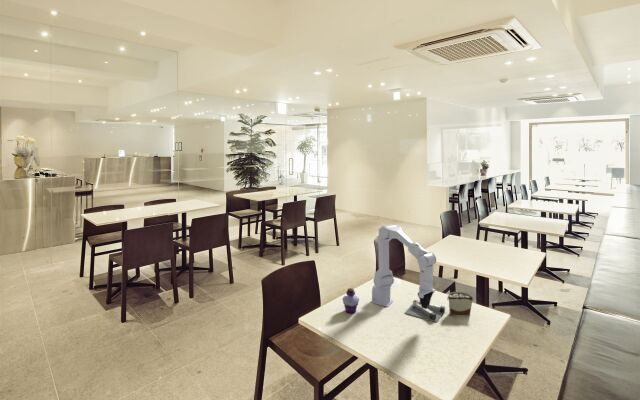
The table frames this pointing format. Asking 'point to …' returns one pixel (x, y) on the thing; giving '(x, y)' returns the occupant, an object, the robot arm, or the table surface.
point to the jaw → (424, 310)
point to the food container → (460, 303)
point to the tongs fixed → (435, 307)
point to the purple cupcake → (350, 301)
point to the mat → (419, 314)
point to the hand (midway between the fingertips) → (425, 306)
